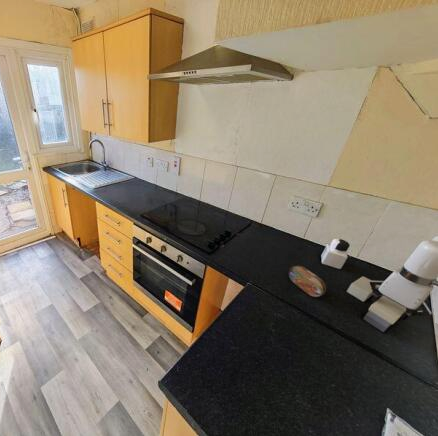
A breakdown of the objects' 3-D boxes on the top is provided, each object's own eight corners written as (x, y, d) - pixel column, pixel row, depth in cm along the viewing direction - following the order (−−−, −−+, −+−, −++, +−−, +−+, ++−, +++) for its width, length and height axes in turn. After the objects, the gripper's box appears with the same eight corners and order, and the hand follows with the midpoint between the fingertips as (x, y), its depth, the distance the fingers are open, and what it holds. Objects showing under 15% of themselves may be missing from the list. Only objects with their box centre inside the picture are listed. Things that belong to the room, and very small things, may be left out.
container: (338, 261, 115) (351, 240, 109) (340, 269, 110) (353, 248, 103) (320, 255, 119) (331, 235, 113) (321, 263, 113) (332, 242, 107)
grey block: (395, 321, 85) (402, 312, 83) (383, 332, 81) (390, 323, 78) (374, 308, 90) (381, 300, 87) (362, 318, 86) (369, 310, 83)
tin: (285, 276, 104) (292, 262, 100) (290, 275, 105) (297, 261, 101) (317, 301, 92) (325, 286, 88) (322, 299, 93) (331, 284, 89)
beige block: (374, 293, 97) (380, 285, 94) (363, 301, 93) (369, 293, 90) (357, 283, 102) (363, 276, 99) (346, 291, 97) (351, 283, 95)
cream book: (404, 313, 82) (408, 309, 81) (392, 324, 78) (396, 320, 77) (380, 299, 88) (383, 295, 86) (368, 309, 83) (371, 304, 82)
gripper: (459, 289, 69) (422, 326, 78) (387, 257, 82) (362, 291, 91) (451, 298, 66) (414, 335, 75) (377, 262, 79) (353, 298, 88)
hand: (386, 311), depth 83 cm, fingers closed on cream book, 7 cm apart
